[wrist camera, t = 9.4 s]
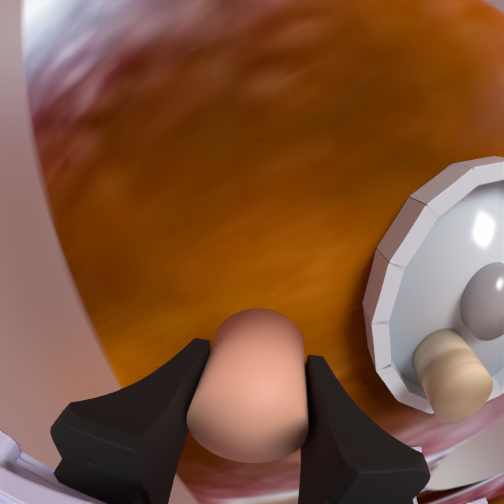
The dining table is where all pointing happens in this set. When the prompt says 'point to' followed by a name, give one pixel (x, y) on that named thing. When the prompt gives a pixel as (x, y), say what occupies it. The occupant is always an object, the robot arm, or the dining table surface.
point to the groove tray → (440, 276)
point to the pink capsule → (252, 390)
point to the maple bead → (451, 376)
